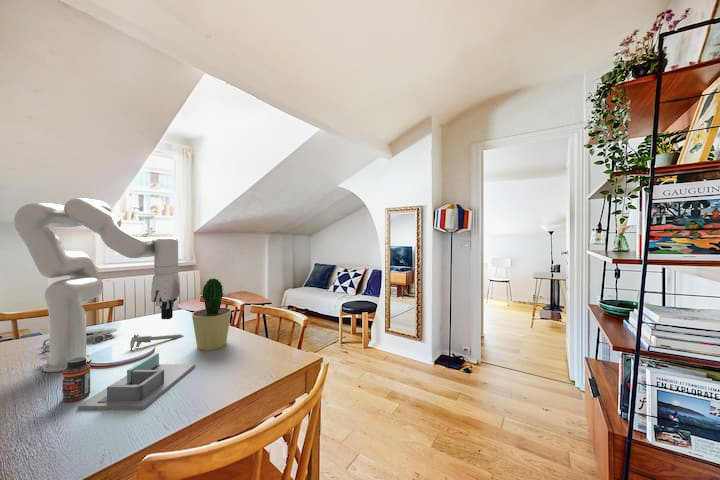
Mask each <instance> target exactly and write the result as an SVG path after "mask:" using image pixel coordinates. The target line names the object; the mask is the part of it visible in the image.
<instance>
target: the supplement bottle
mask: <svg viewBox="0 0 720 480" xmlns="http://www.w3.org/2000/svg"><path fill="white" fill-rule="evenodd" d="M67 366H68V367H67V368H65V369H64V370H63V371H62V377H61V378H62V379H61V380H62V385H61V387H62V390H61V393H62V394H61V396H62V401H63V402H64V403H72V402H77V401H80V400H82V399H84V398H87V397H88V396H89V395H90V393H91V364H89V363H86V357H77V358H73V359H70V360H69V361H68V362H67Z"/></svg>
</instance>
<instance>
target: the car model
mask: <svg viewBox="0 0 720 480" xmlns="http://www.w3.org/2000/svg"><path fill="white" fill-rule="evenodd" d="M117 331H118V329H117V328H110V327H106V328H105V327H103V328H101V327H100V328H91V329H86V345H90V344H98V343H102V342H105V341H109V340H112V339H113V338H114V335H113V333H115V332H117ZM47 341H48V342H49V337H48V338H46V339H44V340H43V342H42V347H41V349H40V352H42V353H44V354H45V353H49V343H47Z"/></svg>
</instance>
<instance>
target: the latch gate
mask: <svg viewBox="0 0 720 480" xmlns="http://www.w3.org/2000/svg"><path fill="white" fill-rule="evenodd" d="M158 364H160V353H159V352H155V353H153V354H151V355H149V356H148V357H147V358H144V359H143V360H142V361H140V362H138V363H137V364H135V365H133V366H131V367H130V368H128V369H126V376H127V383H131V382H132V371H134V370H151V369H152V368H154V367H155V366H157V365H158Z"/></svg>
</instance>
